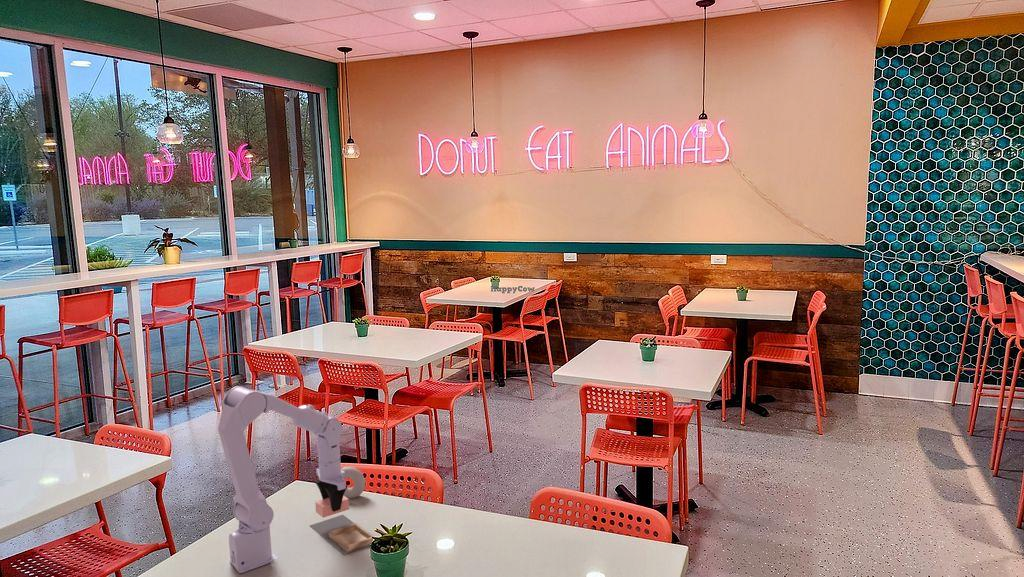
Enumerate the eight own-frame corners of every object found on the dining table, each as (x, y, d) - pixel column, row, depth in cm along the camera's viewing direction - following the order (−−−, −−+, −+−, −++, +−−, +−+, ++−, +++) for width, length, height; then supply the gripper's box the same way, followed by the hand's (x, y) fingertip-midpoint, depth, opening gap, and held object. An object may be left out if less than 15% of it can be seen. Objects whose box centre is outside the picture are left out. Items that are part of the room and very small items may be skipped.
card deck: (323, 517, 181) (322, 507, 180) (316, 512, 184) (315, 501, 184) (349, 509, 185) (348, 498, 185) (341, 504, 189) (341, 493, 189)
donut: (367, 496, 206) (365, 464, 205) (364, 501, 202) (362, 469, 201) (336, 495, 207) (334, 464, 206) (332, 500, 203) (329, 469, 202)
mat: (344, 557, 169) (344, 555, 169) (309, 527, 186) (309, 525, 186) (379, 544, 175) (379, 542, 175) (342, 516, 192) (342, 514, 192)
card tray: (347, 553, 170) (346, 547, 170) (329, 538, 179) (328, 532, 178) (374, 542, 175) (374, 537, 175) (356, 528, 183) (355, 523, 183)
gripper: (355, 462, 180) (357, 511, 182) (332, 449, 191) (334, 494, 193) (330, 469, 176) (333, 519, 177) (308, 455, 187) (311, 502, 188)
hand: (332, 507), depth 185 cm, fingers closed on card deck, 5 cm apart
